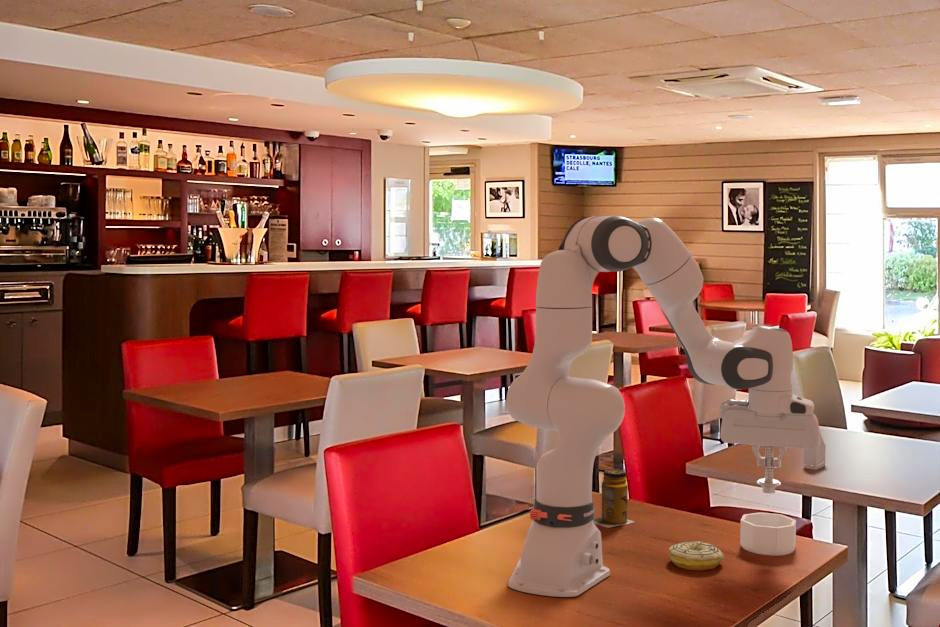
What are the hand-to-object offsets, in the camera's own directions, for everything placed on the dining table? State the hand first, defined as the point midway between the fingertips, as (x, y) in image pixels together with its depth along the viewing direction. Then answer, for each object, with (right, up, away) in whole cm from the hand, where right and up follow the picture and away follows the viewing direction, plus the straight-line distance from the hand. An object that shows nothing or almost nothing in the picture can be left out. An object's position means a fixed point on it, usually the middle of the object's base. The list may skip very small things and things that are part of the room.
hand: (769, 466), depth 204 cm
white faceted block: (+36, -12, +75) cm, 84 cm away
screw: (0, -6, +1) cm, 6 cm away
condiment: (-31, -17, +21) cm, 41 cm away
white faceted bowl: (0, -18, +1) cm, 18 cm away
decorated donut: (-18, -19, -8) cm, 27 cm away
